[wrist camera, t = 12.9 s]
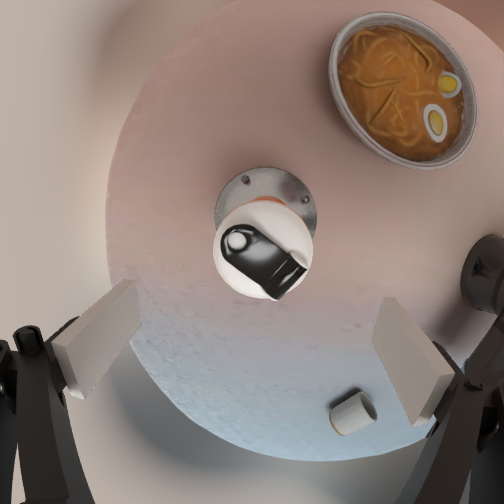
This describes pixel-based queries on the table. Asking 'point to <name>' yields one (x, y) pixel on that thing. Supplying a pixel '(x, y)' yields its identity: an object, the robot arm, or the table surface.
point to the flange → (267, 194)
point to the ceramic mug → (353, 414)
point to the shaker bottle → (263, 248)
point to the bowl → (403, 90)
